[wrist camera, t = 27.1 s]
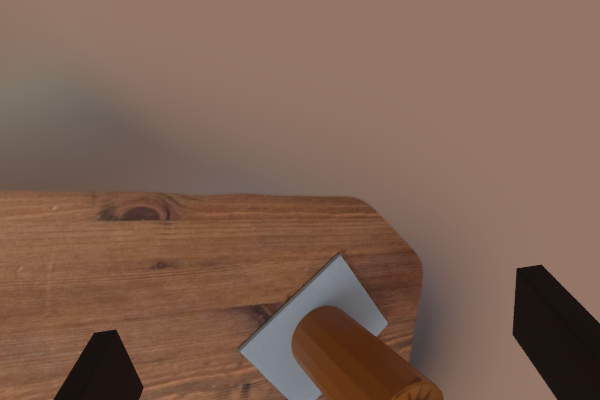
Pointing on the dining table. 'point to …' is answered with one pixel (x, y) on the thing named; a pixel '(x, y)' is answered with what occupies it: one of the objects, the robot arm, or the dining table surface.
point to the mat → (280, 327)
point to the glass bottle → (354, 361)
